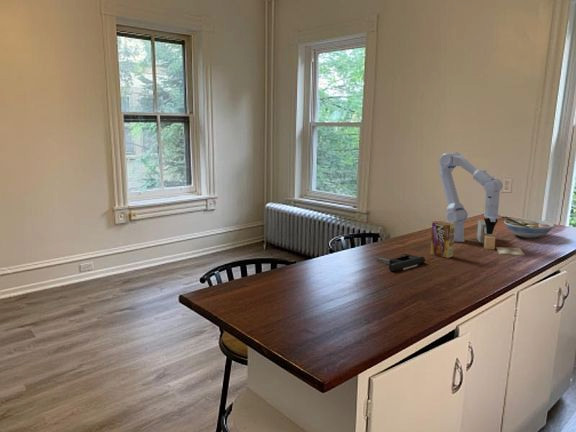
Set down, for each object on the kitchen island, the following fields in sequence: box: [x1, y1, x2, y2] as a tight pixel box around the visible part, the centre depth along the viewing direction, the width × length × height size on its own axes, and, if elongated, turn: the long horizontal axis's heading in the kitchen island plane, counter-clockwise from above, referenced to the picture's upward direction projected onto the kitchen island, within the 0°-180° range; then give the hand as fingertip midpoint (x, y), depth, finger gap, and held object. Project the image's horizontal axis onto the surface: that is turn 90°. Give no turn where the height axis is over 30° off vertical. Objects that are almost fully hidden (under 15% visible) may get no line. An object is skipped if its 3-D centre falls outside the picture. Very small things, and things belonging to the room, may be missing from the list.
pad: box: [495, 246, 526, 256], centre depth 197 cm, size 10×10×1 cm
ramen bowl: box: [501, 216, 555, 239], centre depth 223 cm, size 25×23×8 cm
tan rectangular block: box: [483, 235, 496, 250], centre depth 203 cm, size 4×4×6 cm
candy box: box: [430, 219, 455, 259], centre depth 192 cm, size 9×4×15 cm, turn 39°
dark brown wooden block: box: [476, 219, 495, 244], centre depth 217 cm, size 6×12×9 cm, turn 163°
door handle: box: [376, 253, 426, 272], centre depth 182 cm, size 3×20×16 cm
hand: (489, 233), depth 205 cm, fingers closed
